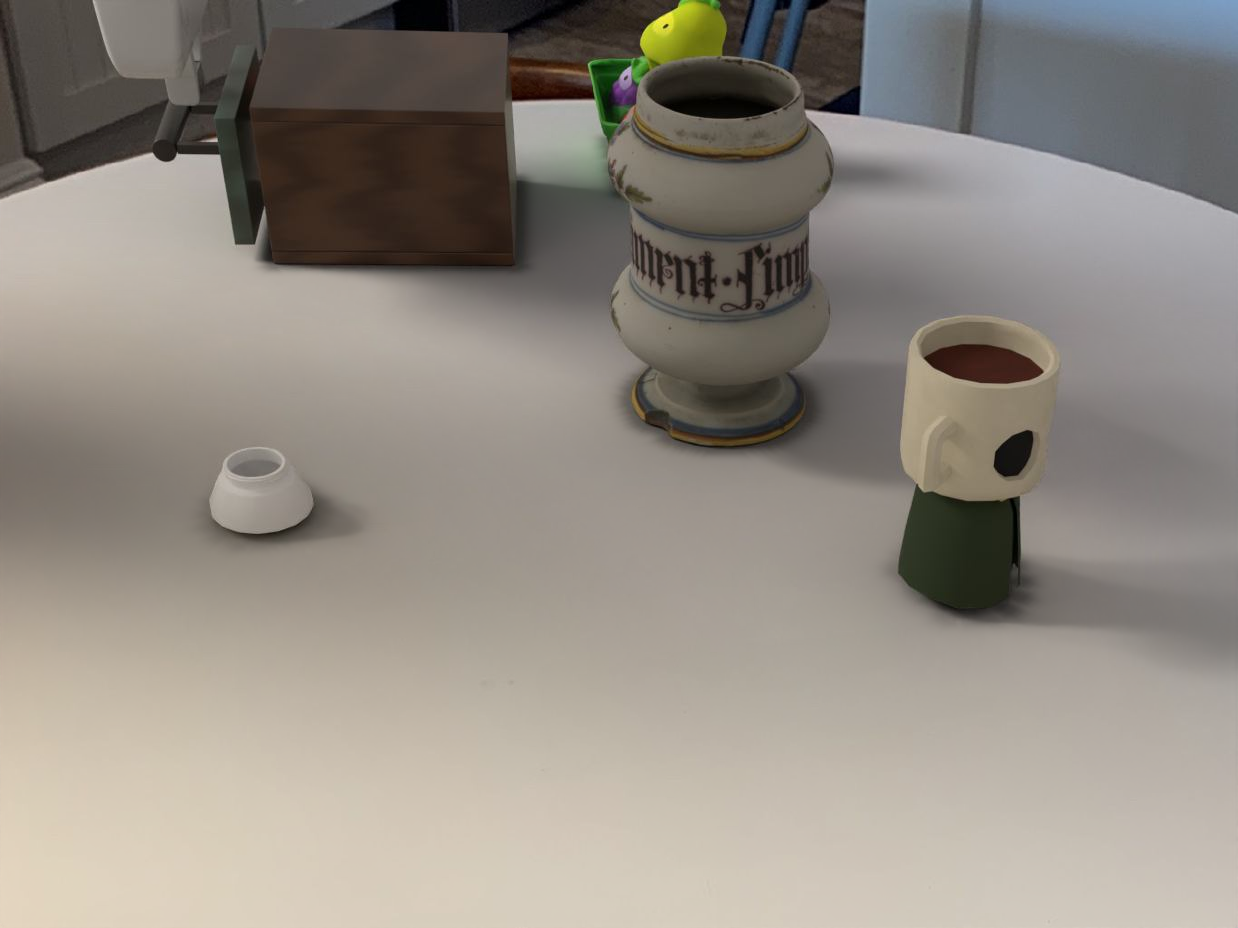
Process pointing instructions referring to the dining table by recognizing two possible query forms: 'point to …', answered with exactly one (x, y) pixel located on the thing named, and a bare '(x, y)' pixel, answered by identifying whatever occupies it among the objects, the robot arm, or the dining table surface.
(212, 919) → the dining table surface
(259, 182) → the drawer
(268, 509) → the white jar
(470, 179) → the cabinet
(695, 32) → the fruit basket
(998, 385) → the character mug
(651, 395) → the apothecary jar
